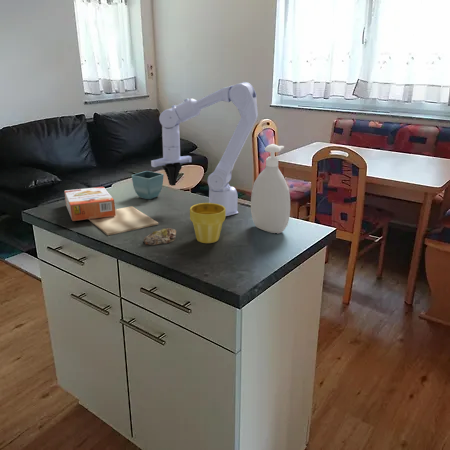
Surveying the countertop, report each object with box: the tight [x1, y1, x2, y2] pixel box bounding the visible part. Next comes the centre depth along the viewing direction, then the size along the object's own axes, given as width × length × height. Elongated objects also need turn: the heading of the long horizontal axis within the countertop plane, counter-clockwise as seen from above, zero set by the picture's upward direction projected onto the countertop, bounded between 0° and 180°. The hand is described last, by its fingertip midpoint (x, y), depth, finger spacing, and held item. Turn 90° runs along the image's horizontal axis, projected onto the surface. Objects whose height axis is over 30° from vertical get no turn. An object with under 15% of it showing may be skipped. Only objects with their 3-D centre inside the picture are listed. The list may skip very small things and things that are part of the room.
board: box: [87, 205, 159, 236], centre depth 150 cm, size 17×20×1 cm
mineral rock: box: [143, 227, 177, 246], centre depth 135 cm, size 11×4×8 cm
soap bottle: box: [250, 143, 291, 234], centre depth 139 cm, size 14×8×27 cm, turn 47°
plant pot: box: [189, 202, 226, 244], centre depth 134 cm, size 10×10×10 cm
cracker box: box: [64, 186, 116, 222], centre depth 156 cm, size 14×6×21 cm
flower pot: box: [131, 170, 165, 200], centre depth 172 cm, size 9×9×9 cm
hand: (172, 184), depth 158 cm, fingers closed
